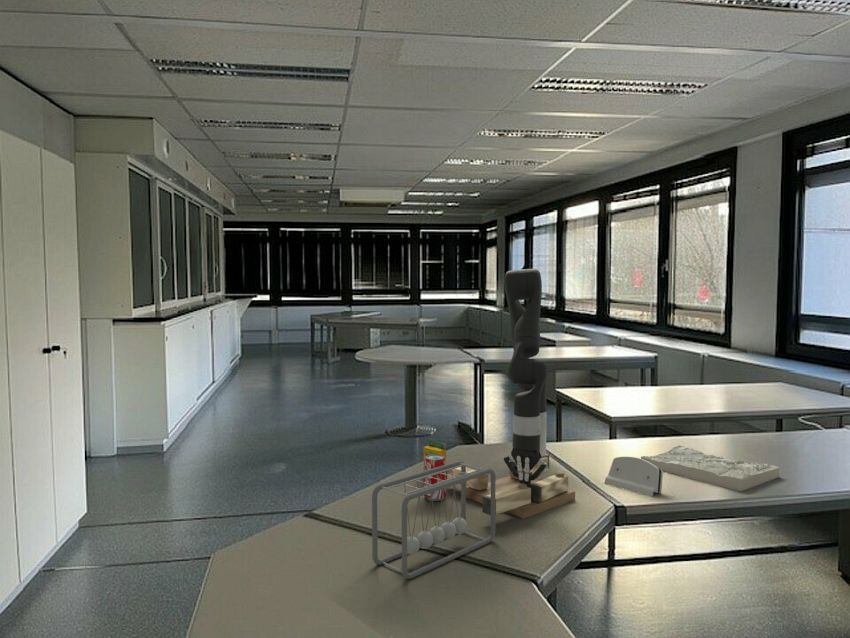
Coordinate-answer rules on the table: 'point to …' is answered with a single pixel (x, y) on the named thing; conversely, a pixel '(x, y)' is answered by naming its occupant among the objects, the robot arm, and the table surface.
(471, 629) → the table surface
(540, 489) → the stool leg
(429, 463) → the soda can
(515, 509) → the stool seat
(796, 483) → the table surface
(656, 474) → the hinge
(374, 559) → the newton's cradle
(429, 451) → the crayon box
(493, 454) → the table surface
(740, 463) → the topographic model
